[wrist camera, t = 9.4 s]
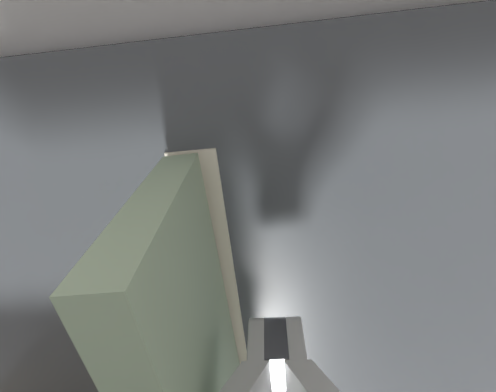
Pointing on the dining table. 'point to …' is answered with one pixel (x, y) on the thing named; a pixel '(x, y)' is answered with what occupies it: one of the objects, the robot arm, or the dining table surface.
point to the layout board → (274, 187)
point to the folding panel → (153, 292)
